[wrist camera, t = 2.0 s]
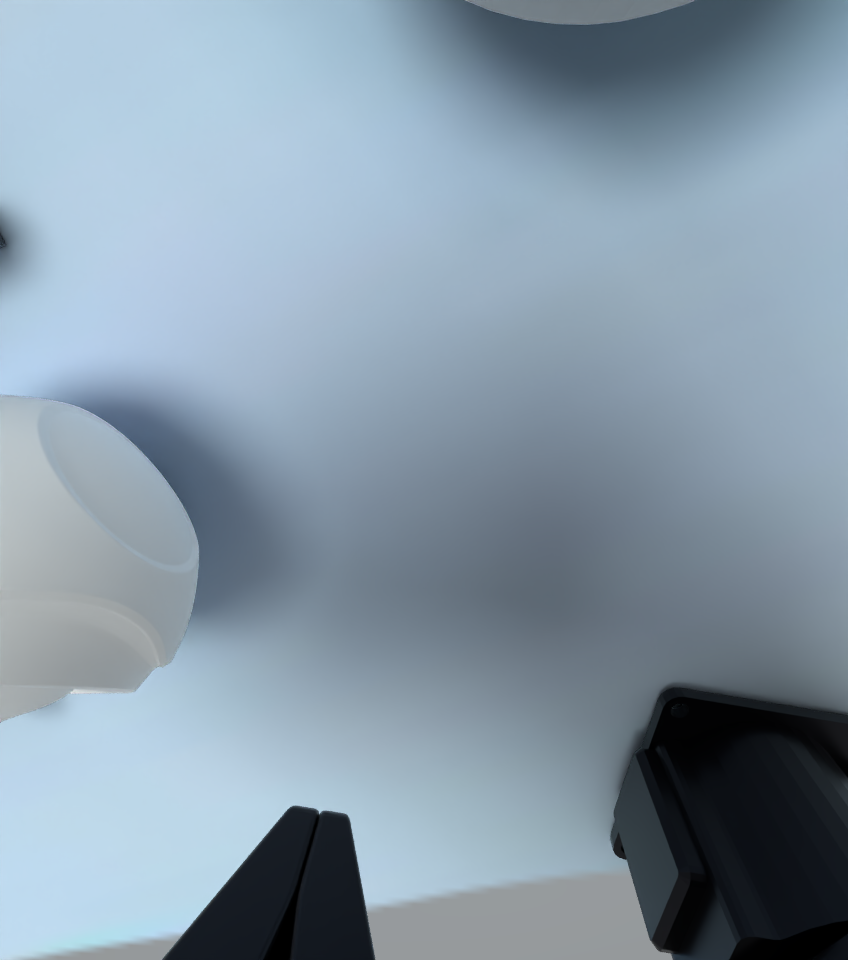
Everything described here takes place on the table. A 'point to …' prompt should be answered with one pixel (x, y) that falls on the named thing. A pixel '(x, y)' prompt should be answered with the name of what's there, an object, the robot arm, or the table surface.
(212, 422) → the table surface
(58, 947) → the table surface
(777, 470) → the table surface
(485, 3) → the showerhead
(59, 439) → the white folded round lump
